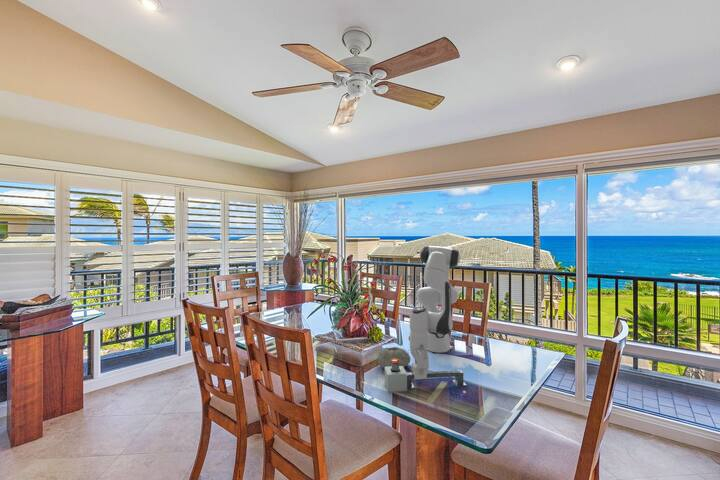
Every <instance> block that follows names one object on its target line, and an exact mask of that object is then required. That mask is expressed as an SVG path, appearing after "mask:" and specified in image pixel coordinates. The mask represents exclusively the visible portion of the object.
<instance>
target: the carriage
mask: <svg viewBox="0 0 720 480" xmlns="http://www.w3.org/2000/svg"><path fill="white" fill-rule="evenodd" d="M427 372H428V369H424V371H423V374H420V373H419V365H418V364H417V363H415V362H414V363H413V362H412V363H411V373H414V379H413V380H423V379H424V380H425V379H428V378H427Z"/></svg>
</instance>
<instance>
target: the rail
mask: <svg viewBox="0 0 720 480" xmlns="http://www.w3.org/2000/svg"><path fill="white" fill-rule="evenodd" d="M406 373H407V390H415V389H416V388H415V386H414V383H413V380H415V379H414V373H412V372H409V371H408V372H407V371H406ZM451 377H454V379H452V380H451V382H452V383H453V384H454V385H455V387H456V388H459V387H460V388H462V387H467V385H468V384H466V382H465V381H464V371H463V370H462V369H456V370H455V369H454V370H441V371H427V379H434V378H451Z"/></svg>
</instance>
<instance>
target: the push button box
mask: <svg viewBox="0 0 720 480" xmlns="http://www.w3.org/2000/svg"><path fill="white" fill-rule="evenodd" d="M406 372H407V370H406V369H405V367H403V366H399V372H392V366H389V367H385V368H384V385H385V389H386V390H387V393H394V392H397V393H398V392H408V389H407V373H406Z"/></svg>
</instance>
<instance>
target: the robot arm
mask: <svg viewBox="0 0 720 480" xmlns="http://www.w3.org/2000/svg"><path fill="white" fill-rule="evenodd" d="M419 259H420V262H421V263H423V264H425V266H424V271H423V272H424V273H423V282H424V283H425V284H426V286H424V287H420V288H418V289H417V291H416V294H415V297H416V300H417V302H418V303H419V304H420V305H422V306H415V307H413V308H411V309H410V312H409V329H410V331H409V336H408V341H409V348H410V355H411V356H412V357H413V359H414V363H417V364H418V365H419V373H420V374H423V371H424V369H427V370H428V369H429V367H430V366H429V365H430V361H429V354H428V353H429V352H433V353H447V352H449V351H450V350H452V349H453V346H452V345H451V341H450V340H451V339H450V337H451V336H450V335H449V333H451V332H452V330H453V326H454V325H453V312H452V309H453V307H452V306H453V305H452V304H454V303H456V302H457V301H458V299H459V293H458V290H457V288H455V287H454V286H452V284H451V283H450V281H449V276H450V275H449V274H450V268H455V267H457V266H458V264H459V263H460V260H461V255H460V251H459V250H458V249H456V248H450V247H446V246H440V245H439V246H438V245H437V246H436V245H435V246H433V245H423V246H422V247H421V249H420V251H419ZM437 305H441V309H440V308H437ZM428 351H429V352H428Z"/></svg>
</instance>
